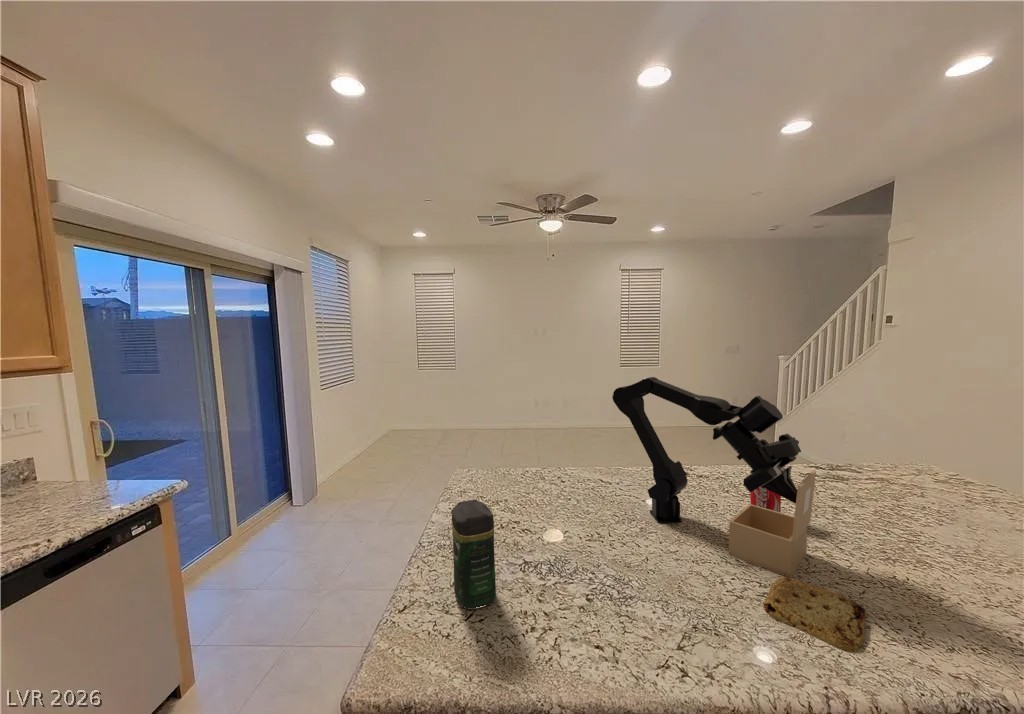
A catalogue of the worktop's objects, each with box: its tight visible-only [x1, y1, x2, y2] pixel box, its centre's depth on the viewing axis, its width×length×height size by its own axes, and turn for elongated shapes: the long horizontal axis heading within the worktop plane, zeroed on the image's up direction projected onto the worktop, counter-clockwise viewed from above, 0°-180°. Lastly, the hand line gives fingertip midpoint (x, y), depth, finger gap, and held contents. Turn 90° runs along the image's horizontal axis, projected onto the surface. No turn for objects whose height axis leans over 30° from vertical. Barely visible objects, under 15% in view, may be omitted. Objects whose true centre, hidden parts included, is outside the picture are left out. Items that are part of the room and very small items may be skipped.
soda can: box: [749, 486, 782, 513], centre depth 108 cm, size 7×7×12 cm
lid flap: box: [792, 470, 817, 542], centre depth 85 cm, size 12×12×1 cm
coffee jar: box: [451, 499, 497, 609], centre depth 79 cm, size 10×8×19 cm
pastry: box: [763, 576, 868, 653], centre depth 72 cm, size 17×17×3 cm
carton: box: [728, 503, 808, 578], centre depth 91 cm, size 12×13×8 cm
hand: (801, 504), depth 85 cm, fingers closed, pressing on lid flap
